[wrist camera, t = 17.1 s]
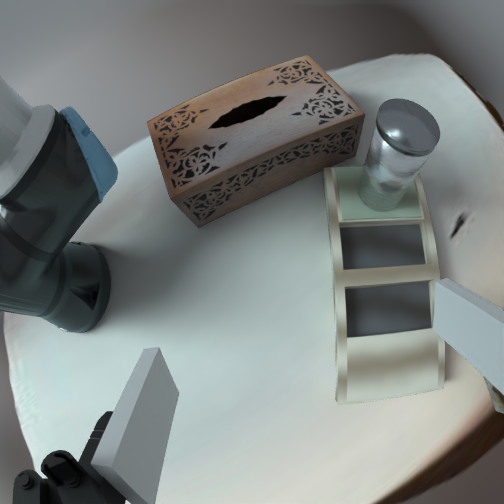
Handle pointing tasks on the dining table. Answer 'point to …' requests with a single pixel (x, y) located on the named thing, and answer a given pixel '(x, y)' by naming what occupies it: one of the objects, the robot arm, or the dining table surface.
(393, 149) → the canister
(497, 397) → the coffee box
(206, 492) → the dining table surface
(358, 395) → the board
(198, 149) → the tissue box cover
